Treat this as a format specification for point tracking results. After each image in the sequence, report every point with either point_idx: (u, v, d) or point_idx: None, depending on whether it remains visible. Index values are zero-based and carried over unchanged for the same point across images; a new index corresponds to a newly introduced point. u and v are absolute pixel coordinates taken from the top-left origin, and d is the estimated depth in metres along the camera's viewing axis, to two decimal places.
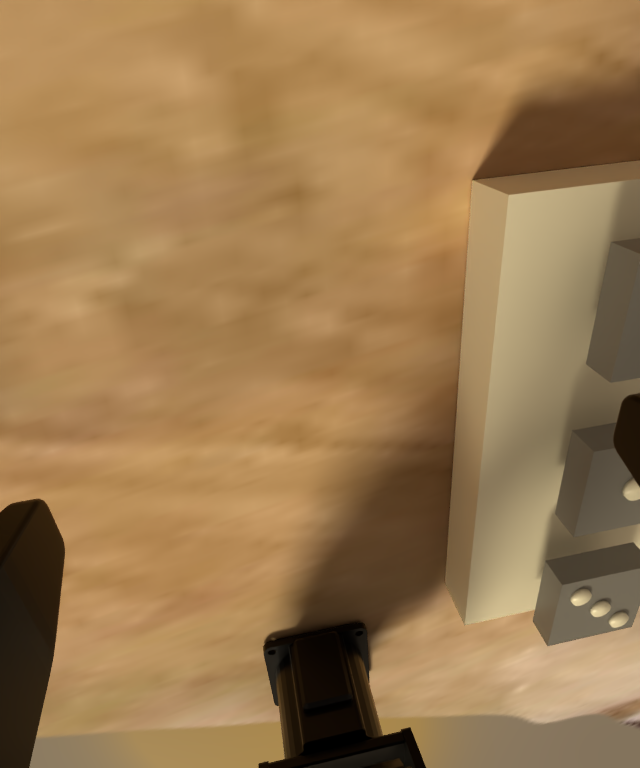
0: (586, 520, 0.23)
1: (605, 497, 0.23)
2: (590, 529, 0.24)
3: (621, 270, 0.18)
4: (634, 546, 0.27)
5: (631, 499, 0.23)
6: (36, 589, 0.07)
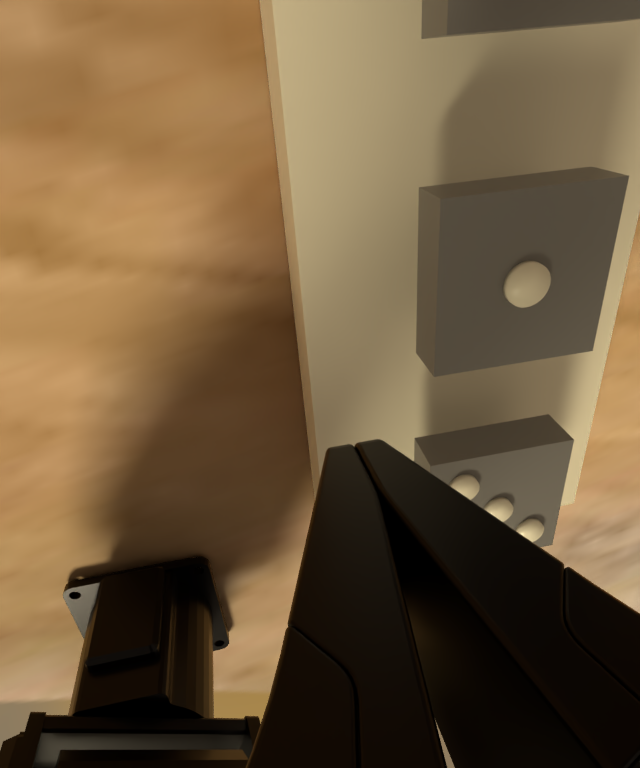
0: (450, 345, 0.14)
1: (476, 301, 0.14)
2: (460, 363, 0.15)
3: None
4: (549, 419, 0.18)
5: (519, 304, 0.14)
6: None
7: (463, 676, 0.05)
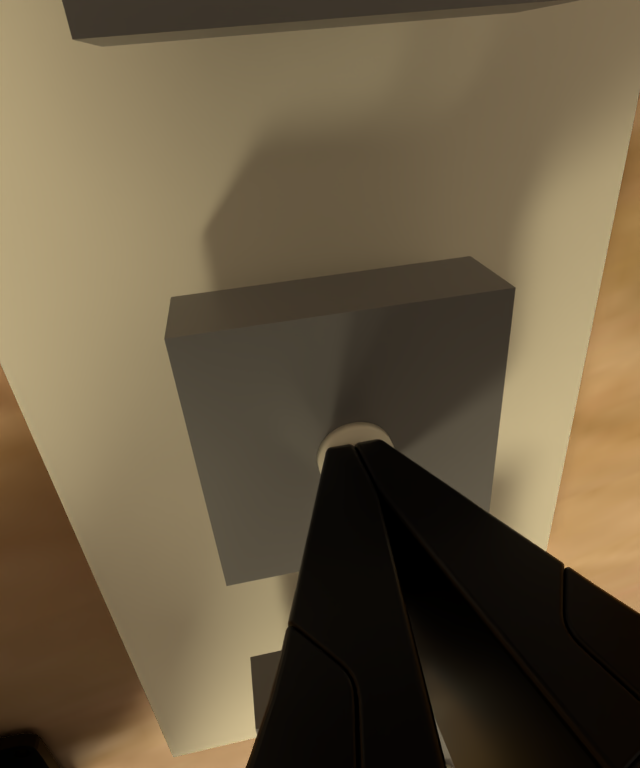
0: (243, 544, 0.09)
1: (273, 483, 0.08)
2: (268, 566, 0.09)
3: None
4: None
5: None
6: None
7: (463, 674, 0.05)
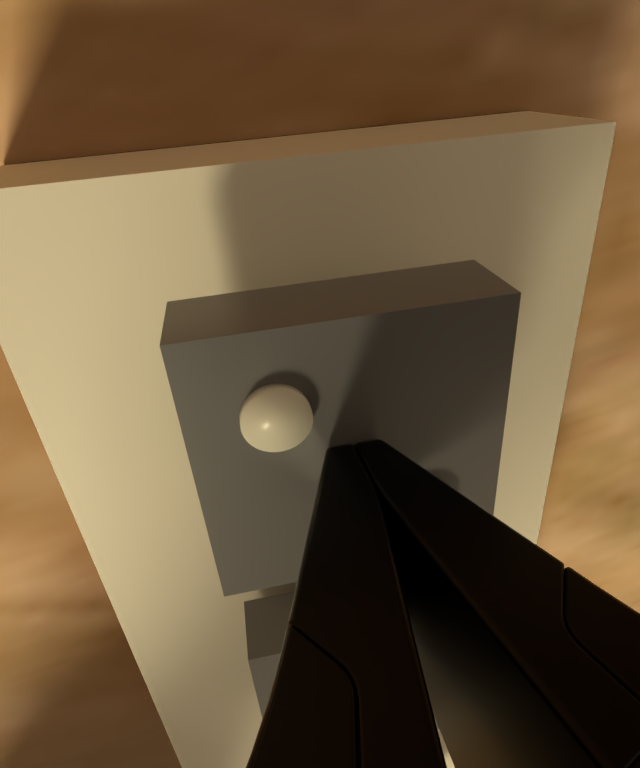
0: None
1: None
2: None
3: None
4: None
5: None
6: None
7: (463, 675, 0.05)
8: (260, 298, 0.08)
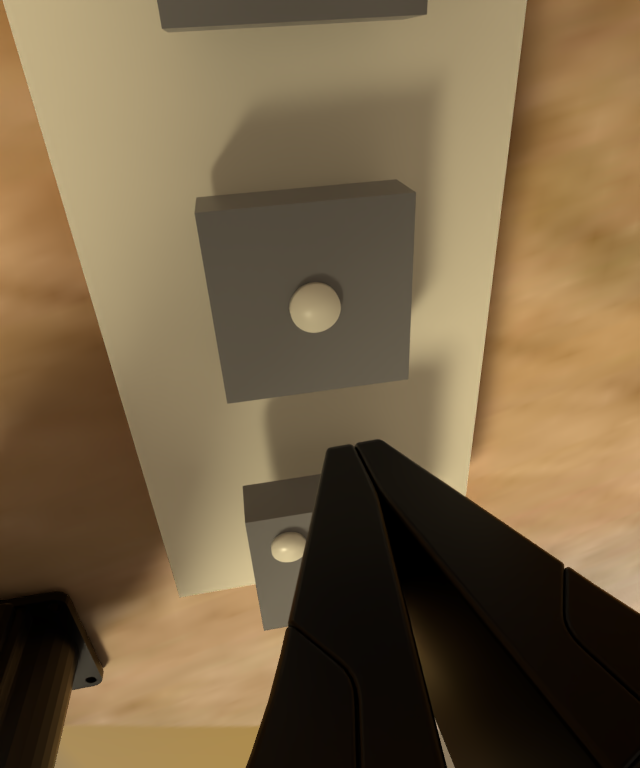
0: (239, 370, 0.13)
1: (260, 324, 0.13)
2: (256, 390, 0.14)
3: None
4: None
5: (308, 329, 0.13)
6: None
7: (463, 676, 0.05)
8: None
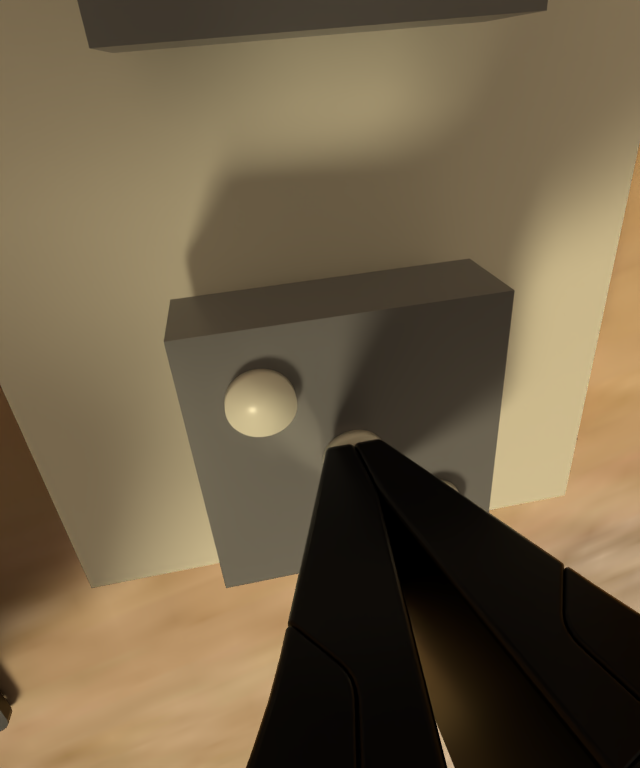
0: None
1: None
2: (161, 8, 0.05)
3: None
4: (469, 264, 0.08)
5: None
6: None
7: (462, 676, 0.05)
8: None
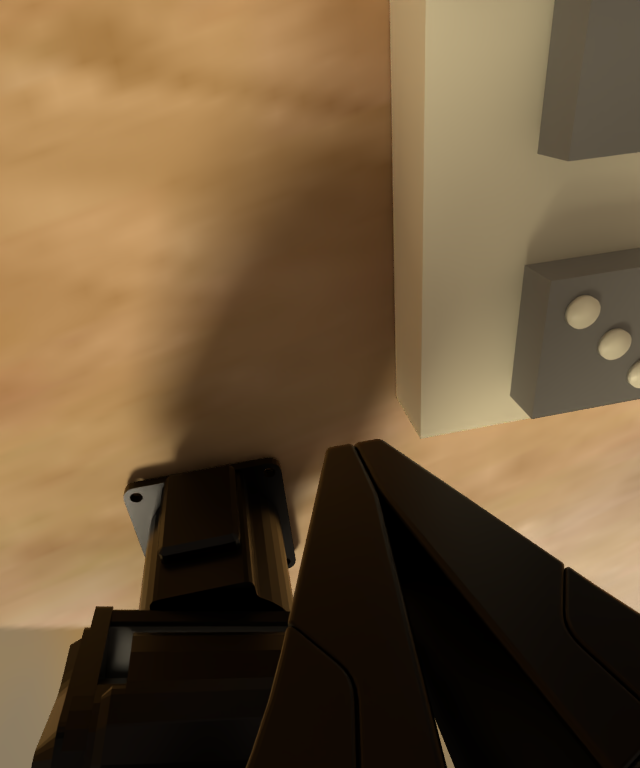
0: (590, 119, 0.13)
1: (624, 61, 0.13)
2: (598, 146, 0.14)
3: None
4: None
5: None
6: None
7: (463, 675, 0.05)
8: None
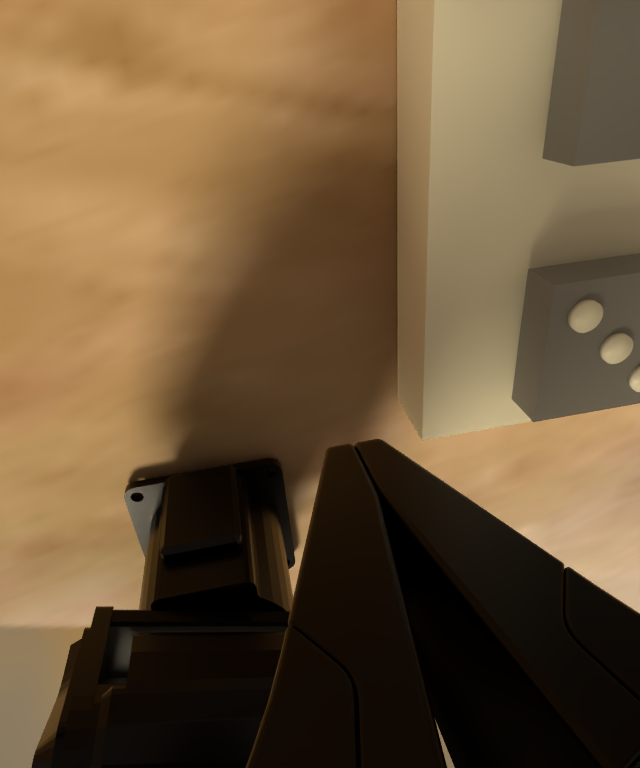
0: (596, 125, 0.13)
1: (630, 67, 0.13)
2: (603, 151, 0.14)
3: None
4: None
5: None
6: None
7: (463, 675, 0.05)
8: None
